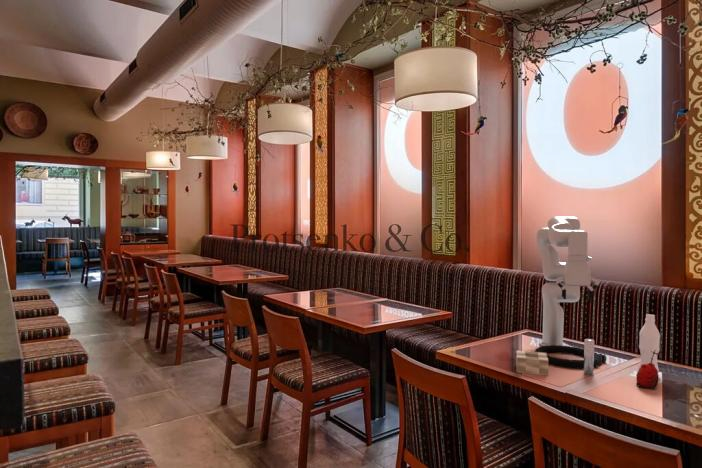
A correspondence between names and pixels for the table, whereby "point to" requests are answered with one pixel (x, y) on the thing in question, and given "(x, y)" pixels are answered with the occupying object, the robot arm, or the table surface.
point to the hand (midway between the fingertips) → (576, 299)
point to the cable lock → (569, 350)
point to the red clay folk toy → (647, 375)
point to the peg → (588, 356)
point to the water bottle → (649, 341)
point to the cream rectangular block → (531, 362)
